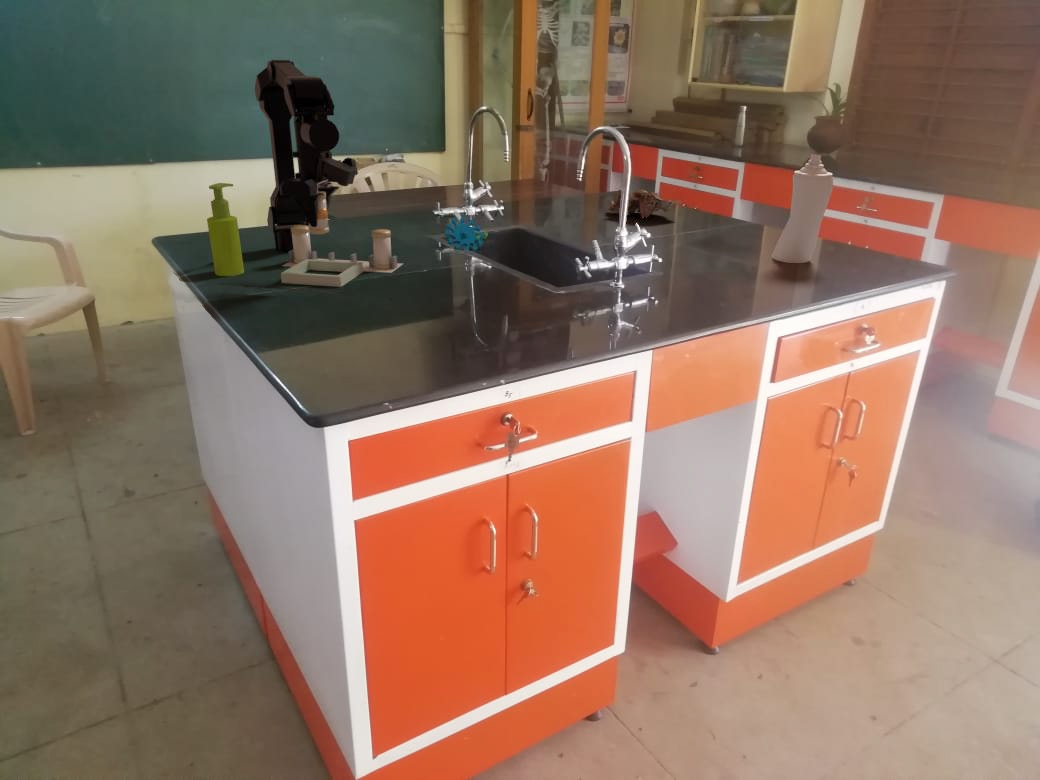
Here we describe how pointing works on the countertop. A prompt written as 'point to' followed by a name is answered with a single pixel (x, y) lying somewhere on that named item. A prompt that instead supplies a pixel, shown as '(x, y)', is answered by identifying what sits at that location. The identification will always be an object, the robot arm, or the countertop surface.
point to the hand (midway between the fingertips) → (318, 224)
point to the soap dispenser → (224, 236)
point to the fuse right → (382, 249)
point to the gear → (465, 234)
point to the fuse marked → (321, 217)
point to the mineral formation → (643, 203)
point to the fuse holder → (366, 265)
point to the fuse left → (301, 243)
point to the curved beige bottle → (805, 212)
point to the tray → (300, 277)
